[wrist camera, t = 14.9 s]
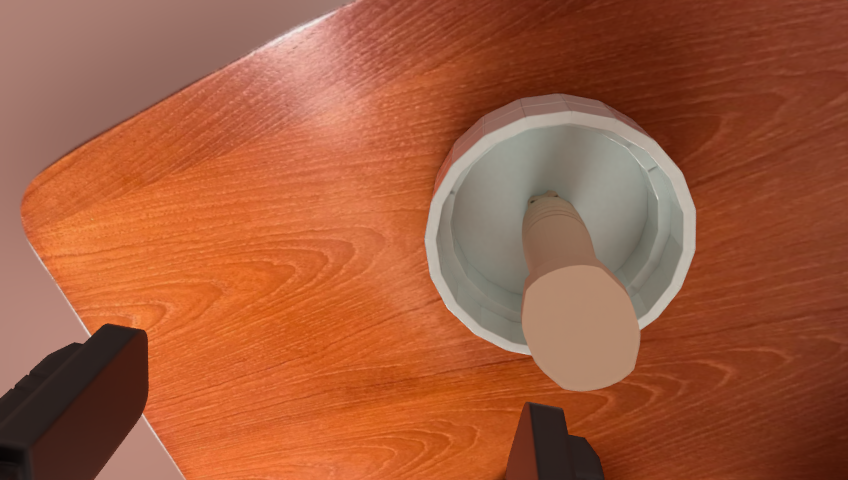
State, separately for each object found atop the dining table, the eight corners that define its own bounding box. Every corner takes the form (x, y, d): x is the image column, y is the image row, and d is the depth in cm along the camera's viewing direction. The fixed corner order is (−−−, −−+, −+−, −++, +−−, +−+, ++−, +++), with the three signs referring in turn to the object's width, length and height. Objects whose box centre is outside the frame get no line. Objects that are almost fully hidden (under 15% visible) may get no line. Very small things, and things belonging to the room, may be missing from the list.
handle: (568, 154, 40) (615, 251, 26) (596, 242, 42) (654, 374, 28) (496, 180, 41) (504, 285, 27) (527, 264, 43) (549, 401, 29)
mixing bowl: (455, 72, 39) (451, 88, 33) (700, 117, 39) (737, 141, 33) (416, 288, 45) (407, 332, 39) (627, 328, 45) (647, 377, 39)
